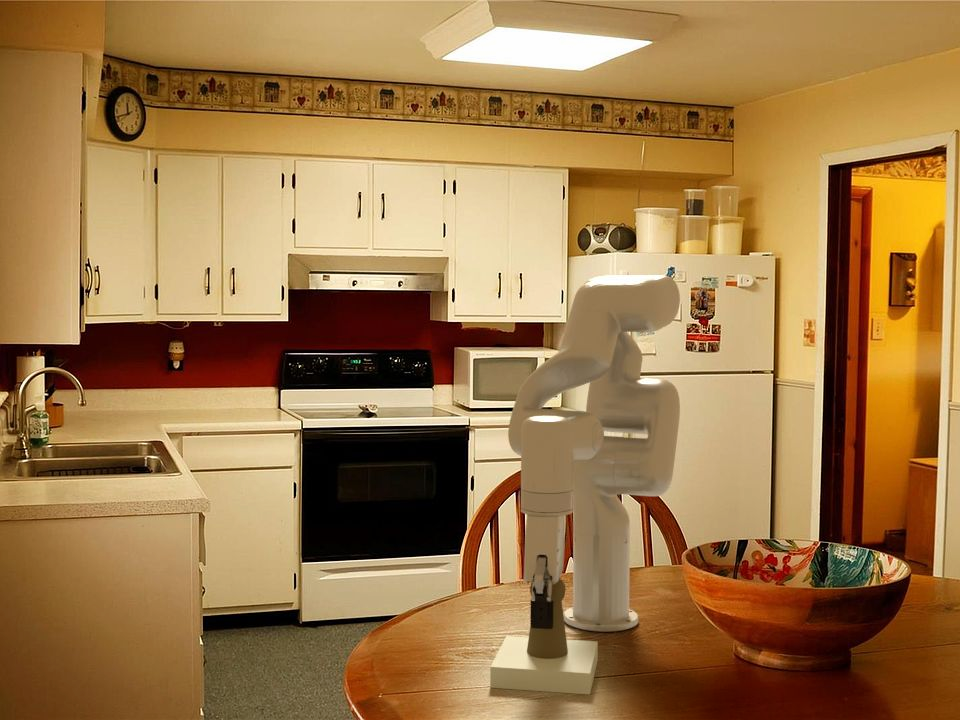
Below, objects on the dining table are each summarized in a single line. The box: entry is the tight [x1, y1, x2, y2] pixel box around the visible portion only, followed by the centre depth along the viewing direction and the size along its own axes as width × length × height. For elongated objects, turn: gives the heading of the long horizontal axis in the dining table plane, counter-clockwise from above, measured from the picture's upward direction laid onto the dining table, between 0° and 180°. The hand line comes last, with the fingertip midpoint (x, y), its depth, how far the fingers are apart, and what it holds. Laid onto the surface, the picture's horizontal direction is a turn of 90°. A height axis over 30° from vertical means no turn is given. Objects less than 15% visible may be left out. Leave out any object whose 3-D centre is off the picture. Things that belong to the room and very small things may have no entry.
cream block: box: [489, 635, 599, 695], centre depth 156 cm, size 14×14×3 cm
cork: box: [527, 578, 568, 659], centre depth 156 cm, size 6×6×11 cm
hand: (546, 617), depth 155 cm, fingers open, 9 cm apart
